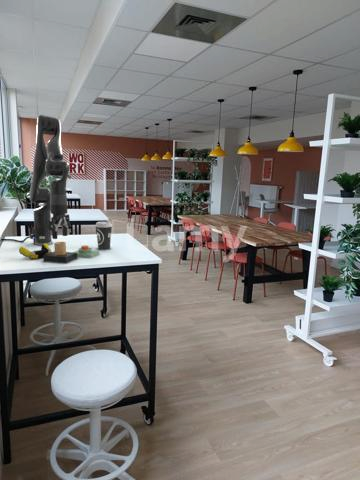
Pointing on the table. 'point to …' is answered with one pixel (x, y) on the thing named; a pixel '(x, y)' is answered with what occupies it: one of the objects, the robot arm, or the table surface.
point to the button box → (86, 253)
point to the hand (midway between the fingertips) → (60, 237)
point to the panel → (60, 257)
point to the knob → (60, 248)
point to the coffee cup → (103, 235)
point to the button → (84, 247)
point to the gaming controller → (35, 252)
